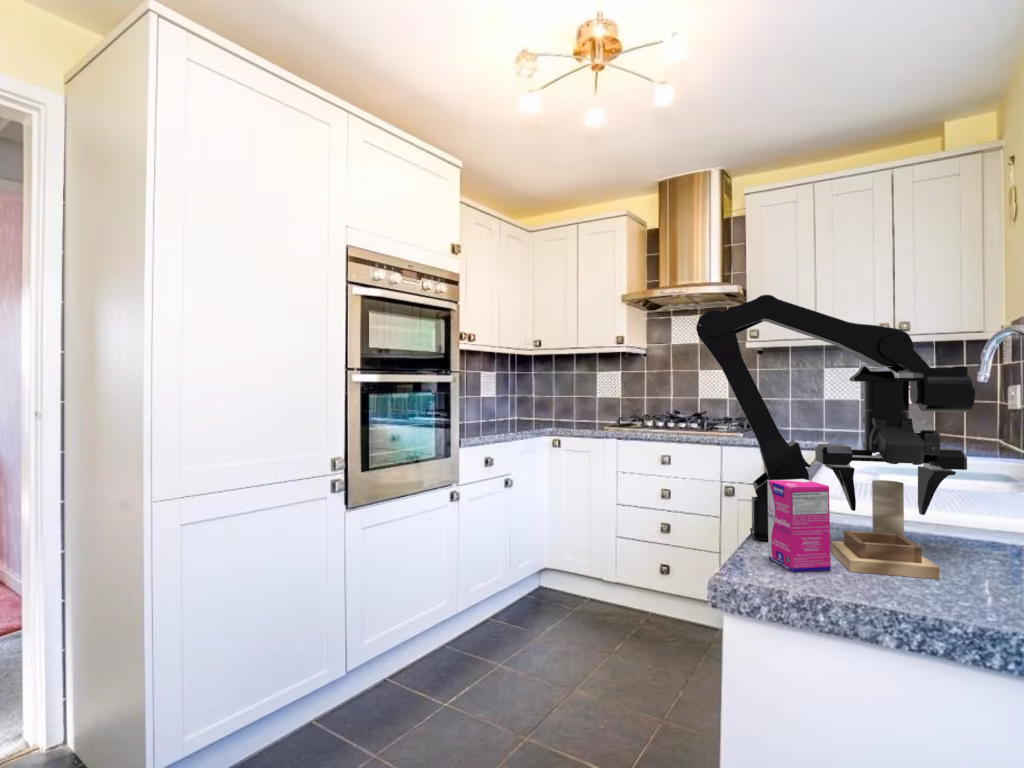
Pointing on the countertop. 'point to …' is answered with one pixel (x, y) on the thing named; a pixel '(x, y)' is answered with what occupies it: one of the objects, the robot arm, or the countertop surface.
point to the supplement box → (799, 525)
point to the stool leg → (888, 507)
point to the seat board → (883, 555)
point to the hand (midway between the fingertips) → (886, 512)
